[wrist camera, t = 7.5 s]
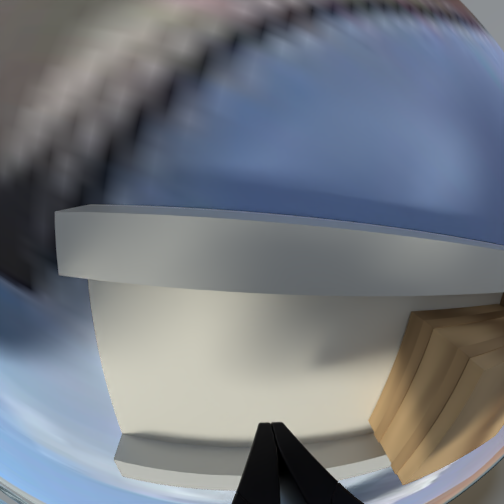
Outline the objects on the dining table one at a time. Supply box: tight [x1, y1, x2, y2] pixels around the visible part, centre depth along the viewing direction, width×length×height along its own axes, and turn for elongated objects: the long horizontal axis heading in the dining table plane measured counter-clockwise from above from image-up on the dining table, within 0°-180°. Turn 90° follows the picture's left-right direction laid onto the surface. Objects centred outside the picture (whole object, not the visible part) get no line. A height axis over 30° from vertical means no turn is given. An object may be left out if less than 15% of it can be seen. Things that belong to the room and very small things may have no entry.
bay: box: [55, 204, 504, 490], centre depth 10 cm, size 24×14×4 cm, turn 85°
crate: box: [368, 304, 504, 485], centre depth 9 cm, size 8×7×5 cm
